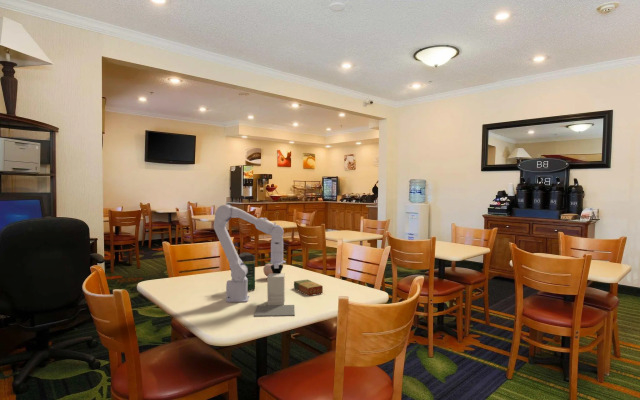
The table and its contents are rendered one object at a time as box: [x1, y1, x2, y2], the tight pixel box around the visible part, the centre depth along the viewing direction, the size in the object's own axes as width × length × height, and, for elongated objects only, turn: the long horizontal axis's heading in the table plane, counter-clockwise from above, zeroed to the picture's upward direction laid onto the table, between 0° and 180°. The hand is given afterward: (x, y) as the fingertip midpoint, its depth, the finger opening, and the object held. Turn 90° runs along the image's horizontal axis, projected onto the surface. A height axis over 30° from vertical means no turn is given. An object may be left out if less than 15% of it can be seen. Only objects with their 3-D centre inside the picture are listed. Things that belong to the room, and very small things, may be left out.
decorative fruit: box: [263, 261, 273, 278], centre depth 207 cm, size 9×8×10 cm
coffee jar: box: [238, 252, 256, 292], centre depth 183 cm, size 10×8×19 cm
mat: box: [253, 304, 296, 317], centre depth 150 cm, size 16×13×1 cm
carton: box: [293, 279, 324, 296], centre depth 182 cm, size 8×16×4 cm, turn 30°
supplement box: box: [266, 272, 286, 305], centre depth 161 cm, size 7×7×13 cm
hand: (276, 281), depth 167 cm, fingers closed
